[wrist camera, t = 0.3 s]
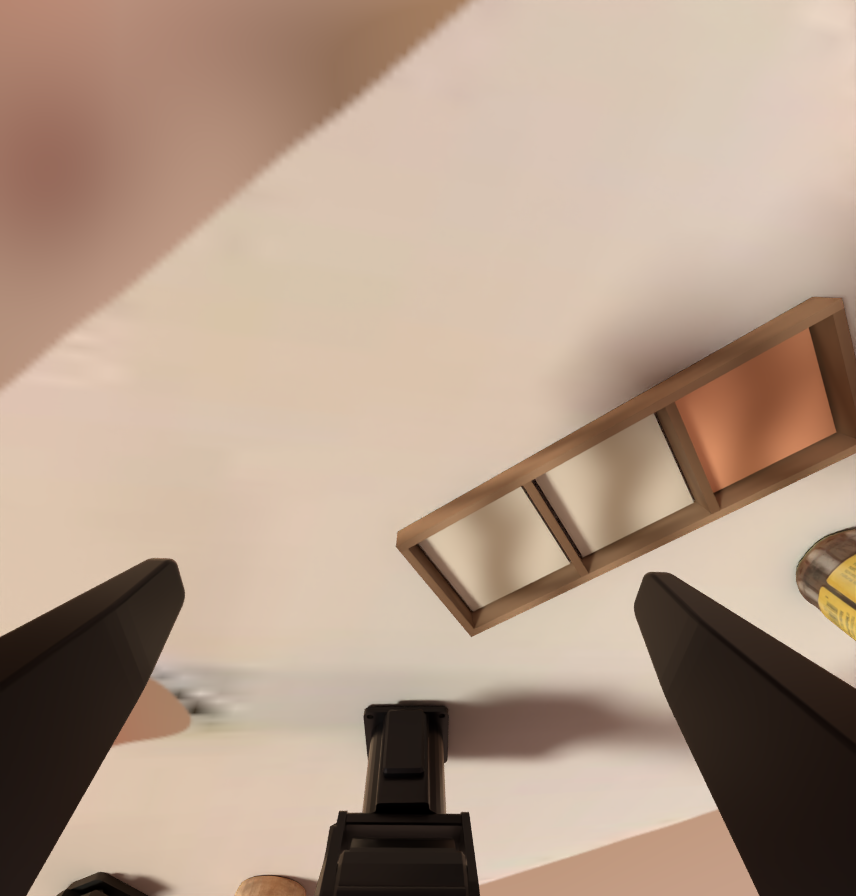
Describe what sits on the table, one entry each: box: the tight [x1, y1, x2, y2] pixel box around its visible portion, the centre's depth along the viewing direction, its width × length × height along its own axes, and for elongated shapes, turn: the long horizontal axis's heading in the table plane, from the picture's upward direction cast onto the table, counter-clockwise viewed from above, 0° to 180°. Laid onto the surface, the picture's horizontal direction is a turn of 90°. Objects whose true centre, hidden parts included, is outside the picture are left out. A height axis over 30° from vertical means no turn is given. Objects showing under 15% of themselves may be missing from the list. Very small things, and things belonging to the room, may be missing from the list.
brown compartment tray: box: [396, 297, 856, 637], centre depth 23 cm, size 25×9×2 cm, turn 123°
